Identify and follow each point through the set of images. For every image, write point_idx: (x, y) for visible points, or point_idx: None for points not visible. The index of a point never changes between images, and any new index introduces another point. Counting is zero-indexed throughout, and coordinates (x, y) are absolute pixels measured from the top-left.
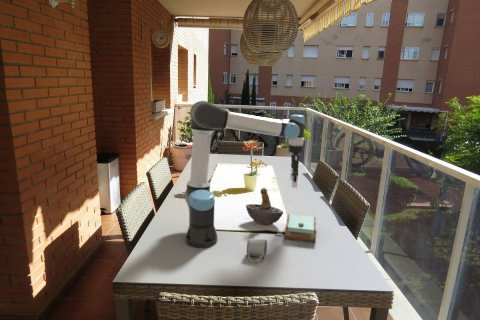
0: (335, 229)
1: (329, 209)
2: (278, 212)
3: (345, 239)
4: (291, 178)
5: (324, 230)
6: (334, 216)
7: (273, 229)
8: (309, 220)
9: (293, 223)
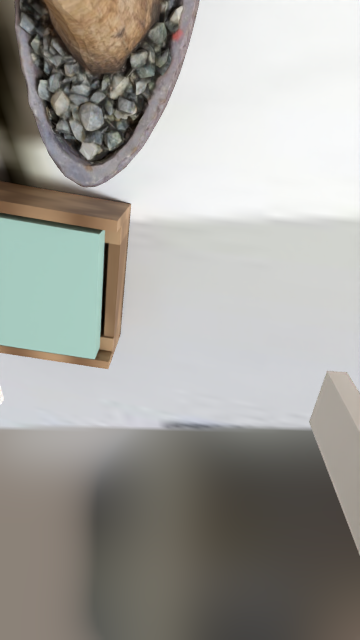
0: (121, 402)
1: None
2: (48, 144)
3: (39, 411)
4: (332, 397)
5: None
6: (258, 425)
7: None
8: (37, 332)
9: None
